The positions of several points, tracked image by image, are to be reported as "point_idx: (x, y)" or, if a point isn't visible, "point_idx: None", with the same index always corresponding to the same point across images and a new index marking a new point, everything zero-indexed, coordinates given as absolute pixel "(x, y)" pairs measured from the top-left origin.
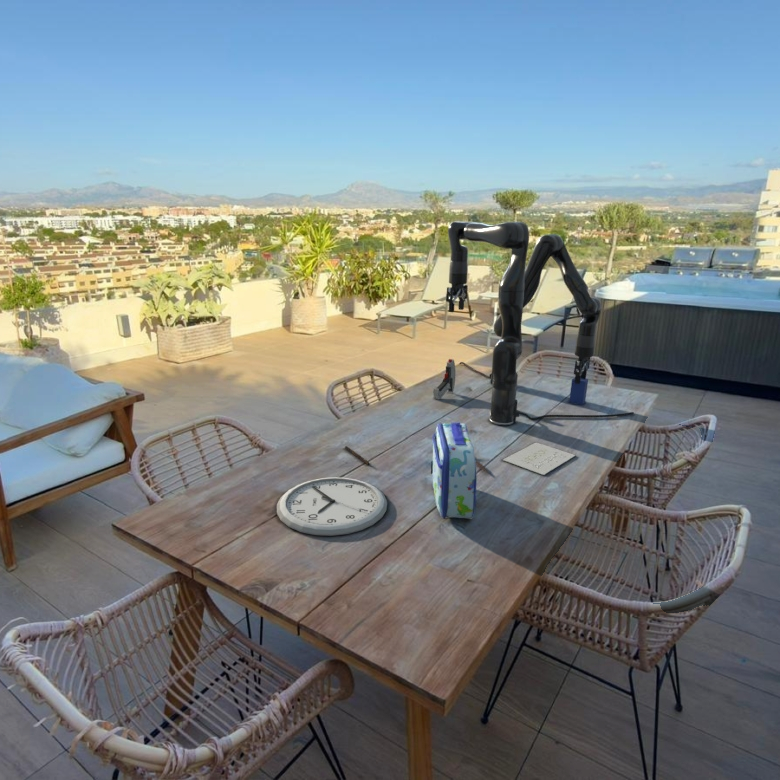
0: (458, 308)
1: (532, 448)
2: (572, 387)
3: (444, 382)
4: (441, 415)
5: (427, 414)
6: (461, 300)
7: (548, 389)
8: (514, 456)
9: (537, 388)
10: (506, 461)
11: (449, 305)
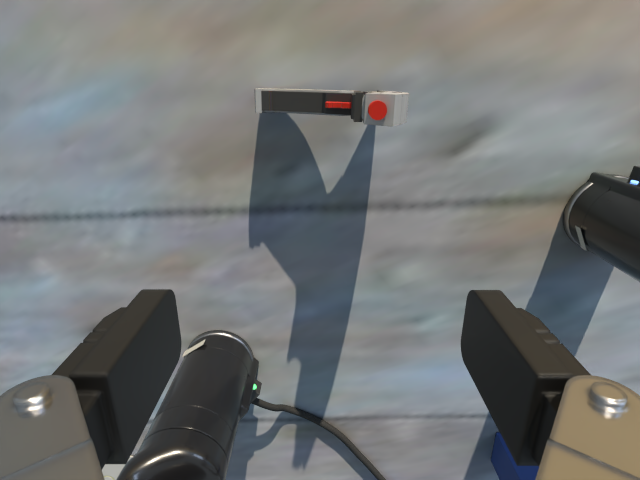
0: (473, 291)
1: (112, 464)
2: (515, 476)
3: (319, 105)
4: (136, 205)
5: (108, 163)
6: (542, 435)
7: (607, 355)
8: None
9: (603, 326)
10: None
11: (65, 371)
